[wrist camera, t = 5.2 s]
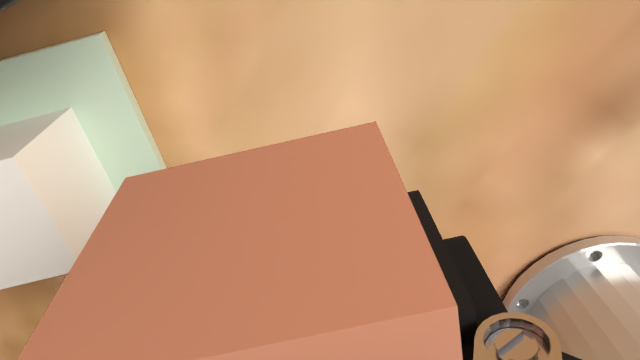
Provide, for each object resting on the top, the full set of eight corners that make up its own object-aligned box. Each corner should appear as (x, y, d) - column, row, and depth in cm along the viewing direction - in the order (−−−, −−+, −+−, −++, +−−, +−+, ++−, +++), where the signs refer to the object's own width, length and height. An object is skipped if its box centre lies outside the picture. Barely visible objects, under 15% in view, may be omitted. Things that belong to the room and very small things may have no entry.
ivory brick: (121, 203, 28) (82, 269, 23) (24, 227, 28) (-37, 298, 23) (70, 107, 25) (12, 157, 20) (-37, 135, 25) (-122, 192, 20)
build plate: (192, 225, 30) (190, 233, 29) (10, 269, 31) (4, 278, 30) (105, 30, 24) (99, 34, 23) (-116, 91, 25) (-127, 96, 24)
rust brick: (407, 310, 14) (481, 546, 9) (207, 351, 14) (162, 605, 9) (375, 121, 11) (457, 306, 6) (125, 177, 11) (-9, 401, 6)
